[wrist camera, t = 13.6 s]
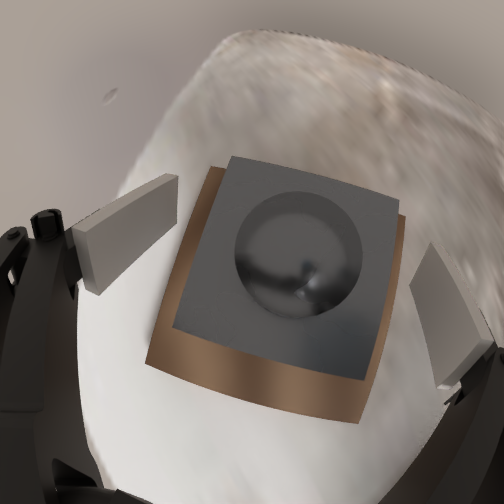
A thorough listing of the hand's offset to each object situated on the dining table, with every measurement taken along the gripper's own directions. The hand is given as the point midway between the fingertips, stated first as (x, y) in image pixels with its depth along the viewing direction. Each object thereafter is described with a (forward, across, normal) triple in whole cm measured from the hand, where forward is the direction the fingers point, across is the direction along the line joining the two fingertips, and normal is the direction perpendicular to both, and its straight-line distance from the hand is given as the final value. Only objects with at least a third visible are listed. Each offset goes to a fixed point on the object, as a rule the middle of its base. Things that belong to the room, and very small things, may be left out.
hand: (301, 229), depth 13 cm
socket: (+3, 0, -6) cm, 7 cm away
